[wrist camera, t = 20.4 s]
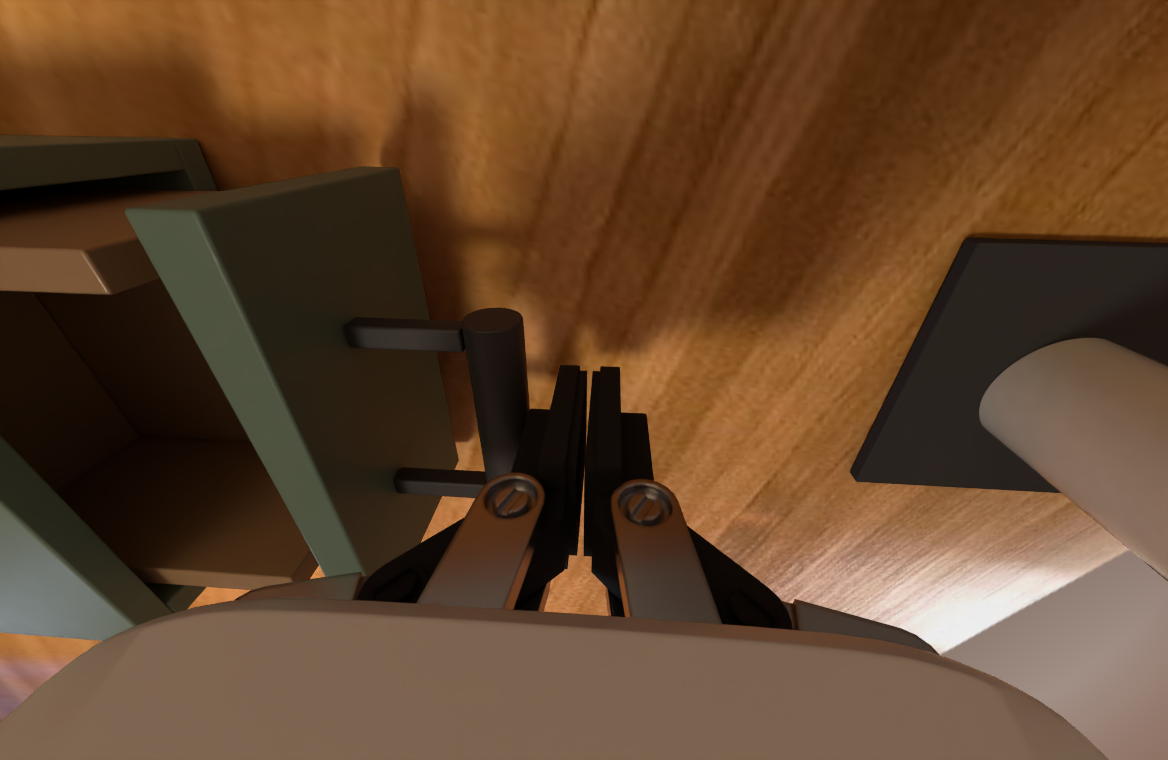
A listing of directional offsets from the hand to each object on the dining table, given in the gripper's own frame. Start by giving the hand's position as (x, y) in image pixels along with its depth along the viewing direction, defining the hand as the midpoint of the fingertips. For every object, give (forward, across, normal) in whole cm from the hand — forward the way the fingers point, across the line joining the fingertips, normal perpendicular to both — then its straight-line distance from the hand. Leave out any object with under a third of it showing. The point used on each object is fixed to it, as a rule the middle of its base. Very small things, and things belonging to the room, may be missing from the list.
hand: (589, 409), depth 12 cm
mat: (+4, -16, +1) cm, 17 cm away
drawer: (+3, +10, 0) cm, 11 cm away
